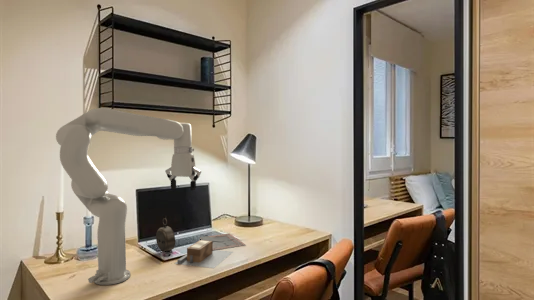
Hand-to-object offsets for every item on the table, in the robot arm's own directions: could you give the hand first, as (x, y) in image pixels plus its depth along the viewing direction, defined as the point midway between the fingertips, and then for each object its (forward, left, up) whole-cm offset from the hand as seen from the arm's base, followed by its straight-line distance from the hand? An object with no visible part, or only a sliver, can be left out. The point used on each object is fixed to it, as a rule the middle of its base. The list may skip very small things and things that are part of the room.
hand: (183, 189), depth 148 cm
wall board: (-1, -11, -30) cm, 32 cm away
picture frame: (+21, -9, -31) cm, 39 cm away
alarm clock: (+2, +11, -31) cm, 32 cm away
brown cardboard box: (-1, -9, -29) cm, 30 cm away
